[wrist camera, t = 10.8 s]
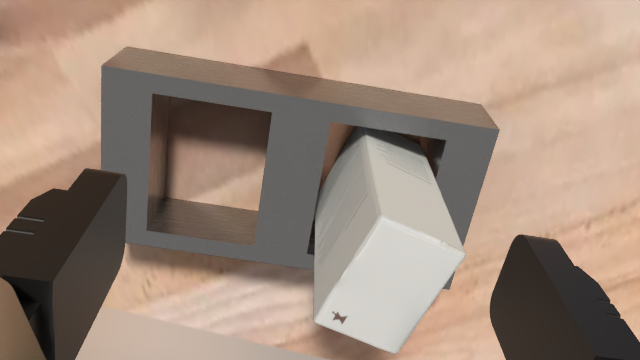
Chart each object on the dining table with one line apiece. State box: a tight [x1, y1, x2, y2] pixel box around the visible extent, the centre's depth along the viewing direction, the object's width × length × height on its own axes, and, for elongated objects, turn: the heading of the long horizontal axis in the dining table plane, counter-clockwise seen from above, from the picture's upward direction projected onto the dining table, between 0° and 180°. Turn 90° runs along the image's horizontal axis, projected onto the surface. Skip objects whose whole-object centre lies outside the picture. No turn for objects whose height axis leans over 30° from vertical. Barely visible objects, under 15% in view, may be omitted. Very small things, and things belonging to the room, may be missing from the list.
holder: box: [101, 47, 499, 290], centre depth 33 cm, size 20×10×4 cm, turn 81°
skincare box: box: [313, 126, 466, 354], centre depth 30 cm, size 6×4×12 cm
